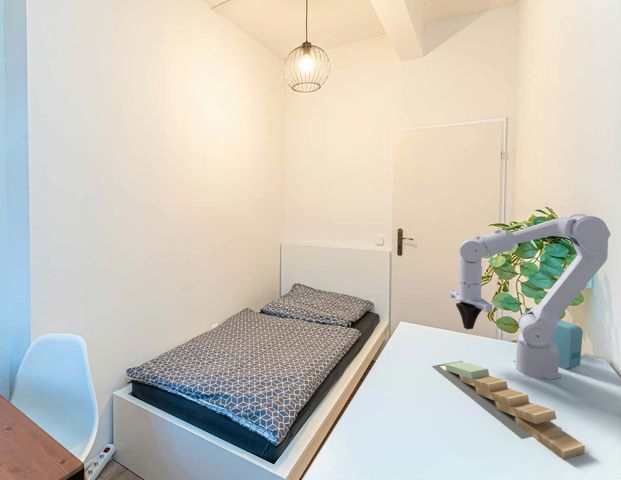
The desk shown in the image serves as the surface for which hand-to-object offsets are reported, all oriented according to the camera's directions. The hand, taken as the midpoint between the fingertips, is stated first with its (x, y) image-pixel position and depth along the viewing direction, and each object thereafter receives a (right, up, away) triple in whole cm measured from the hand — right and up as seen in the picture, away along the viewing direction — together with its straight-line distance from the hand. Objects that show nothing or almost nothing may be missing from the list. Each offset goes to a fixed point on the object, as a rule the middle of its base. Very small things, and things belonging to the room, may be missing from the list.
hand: (468, 328), depth 93 cm
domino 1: (-4, -10, -9) cm, 14 cm away
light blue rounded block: (+25, -10, +1) cm, 27 cm away
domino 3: (-2, -11, -20) cm, 23 cm away
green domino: (-6, -10, -3) cm, 12 cm away
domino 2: (-3, -11, -14) cm, 18 cm away
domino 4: (0, -12, -25) cm, 28 cm away
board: (-3, -12, -14) cm, 19 cm away
